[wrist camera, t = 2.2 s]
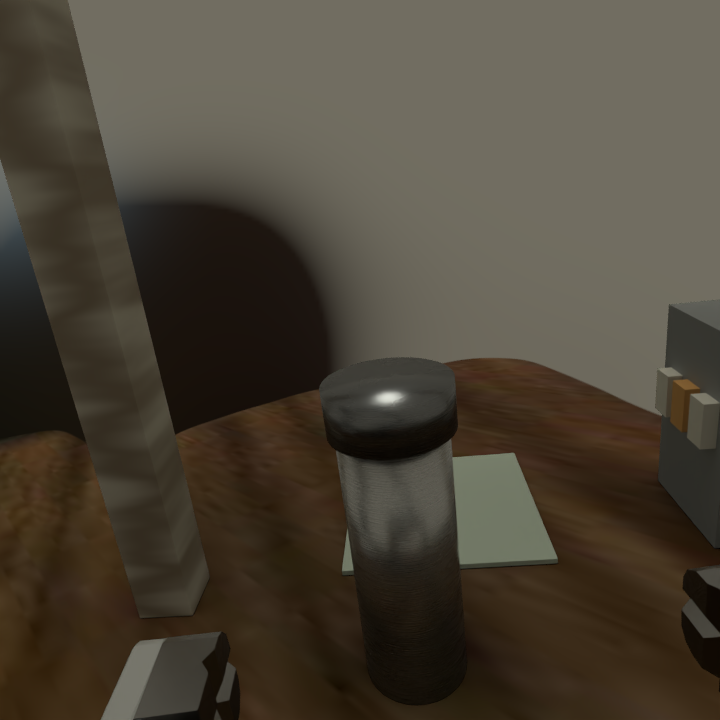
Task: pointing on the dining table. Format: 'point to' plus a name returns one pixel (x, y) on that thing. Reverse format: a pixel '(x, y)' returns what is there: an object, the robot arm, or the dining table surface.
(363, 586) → the frosted spice bottle
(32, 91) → the arch
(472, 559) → the sage mat
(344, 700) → the dining table surface
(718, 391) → the breaker box
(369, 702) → the dining table surface
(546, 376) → the dining table surface
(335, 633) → the dining table surface
